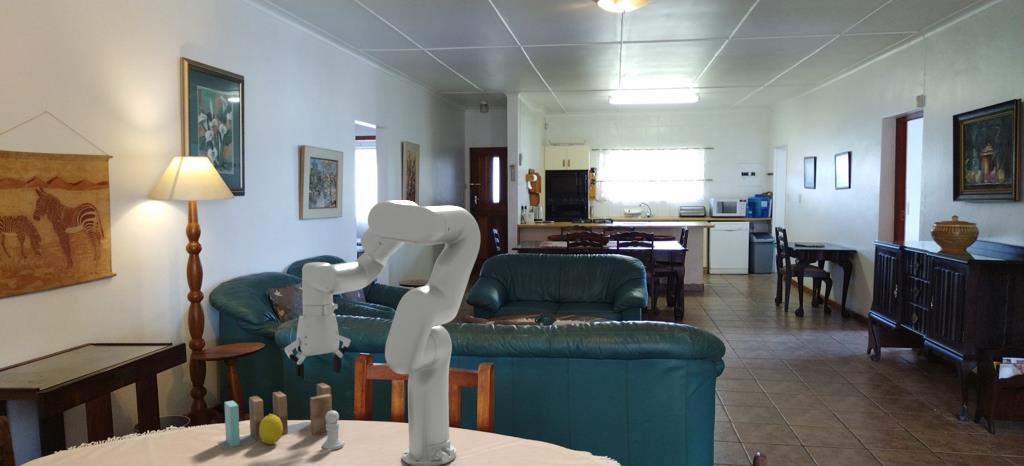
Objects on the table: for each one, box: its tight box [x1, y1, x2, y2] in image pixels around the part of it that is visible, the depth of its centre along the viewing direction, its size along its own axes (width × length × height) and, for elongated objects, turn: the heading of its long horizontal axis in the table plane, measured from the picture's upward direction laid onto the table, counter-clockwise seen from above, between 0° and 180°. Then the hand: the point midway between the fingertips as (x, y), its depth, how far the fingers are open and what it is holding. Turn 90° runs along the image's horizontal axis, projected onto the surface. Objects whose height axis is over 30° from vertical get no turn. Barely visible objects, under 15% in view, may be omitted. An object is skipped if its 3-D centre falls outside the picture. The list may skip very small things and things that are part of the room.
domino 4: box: [309, 394, 333, 437], centre depth 167 cm, size 5×2×10 cm, turn 128°
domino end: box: [224, 400, 241, 448], centre depth 161 cm, size 5×2×10 cm, turn 38°
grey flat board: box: [216, 421, 311, 450], centre depth 168 cm, size 6×28×1 cm, turn 128°
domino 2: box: [272, 390, 289, 436], centre depth 169 cm, size 5×2×10 cm, turn 38°
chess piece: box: [322, 409, 345, 451], centre depth 159 cm, size 5×5×9 cm
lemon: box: [259, 413, 283, 446], centre depth 160 cm, size 6×6×8 cm
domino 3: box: [316, 382, 332, 396], centre depth 176 cm, size 5×2×10 cm, turn 38°
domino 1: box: [248, 395, 265, 442], centre depth 165 cm, size 5×2×10 cm, turn 38°
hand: (318, 375), depth 167 cm, fingers open, 9 cm apart
